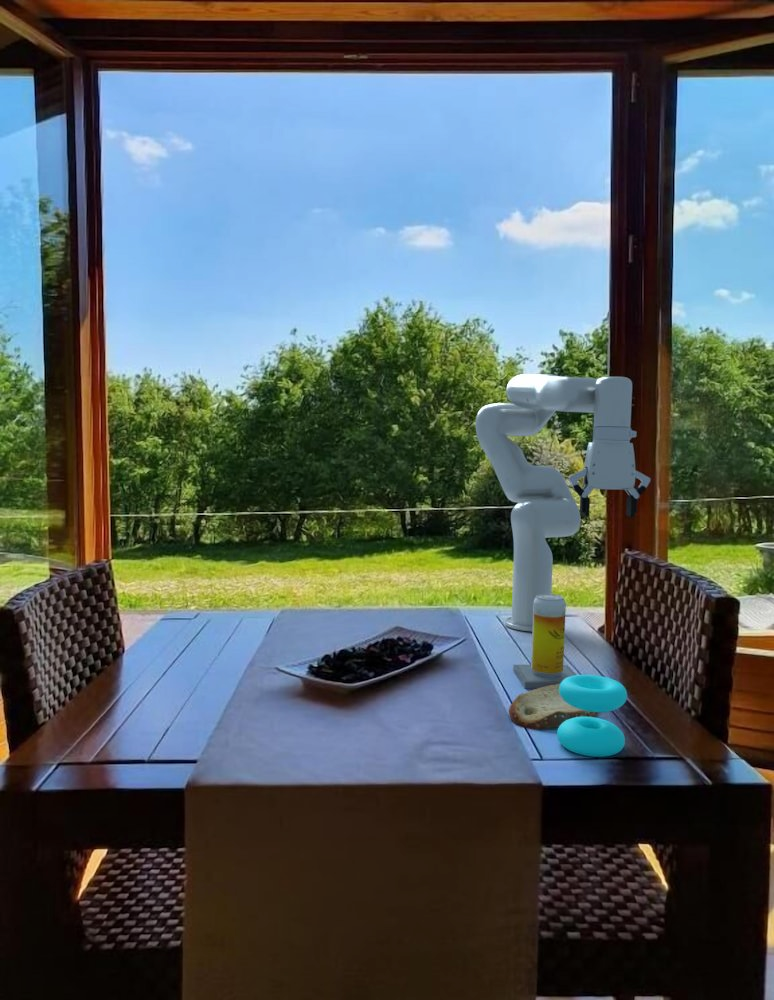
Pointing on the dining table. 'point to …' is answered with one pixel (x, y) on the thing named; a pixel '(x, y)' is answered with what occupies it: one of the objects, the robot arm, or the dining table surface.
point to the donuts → (590, 731)
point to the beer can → (548, 635)
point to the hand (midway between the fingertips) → (607, 516)
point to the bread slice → (543, 709)
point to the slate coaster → (537, 681)
